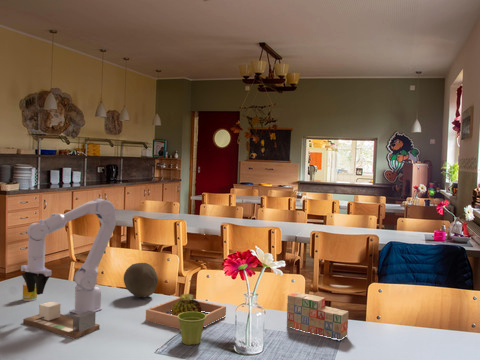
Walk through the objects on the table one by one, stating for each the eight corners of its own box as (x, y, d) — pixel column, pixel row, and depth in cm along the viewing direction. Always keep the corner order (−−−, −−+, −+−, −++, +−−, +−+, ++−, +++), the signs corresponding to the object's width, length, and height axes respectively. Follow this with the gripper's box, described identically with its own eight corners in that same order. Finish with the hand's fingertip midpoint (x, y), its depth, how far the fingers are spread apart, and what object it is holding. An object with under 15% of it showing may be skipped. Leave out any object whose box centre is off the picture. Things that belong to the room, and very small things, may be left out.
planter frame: (179, 306, 192) (180, 296, 192) (225, 316, 181) (226, 306, 181) (145, 320, 174) (145, 309, 174) (194, 332, 163) (194, 321, 163)
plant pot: (193, 349, 148) (194, 322, 148) (170, 342, 153) (171, 316, 153) (211, 340, 156) (211, 315, 156) (188, 334, 161) (189, 309, 161)
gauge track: (49, 315, 176) (49, 297, 176) (99, 329, 163) (99, 310, 163) (23, 323, 167) (23, 304, 166) (74, 338, 154) (74, 318, 154)
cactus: (155, 324, 171) (156, 297, 171) (172, 311, 187) (173, 287, 186) (200, 329, 167) (201, 302, 167) (214, 316, 183) (214, 291, 182)
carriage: (50, 314, 171) (51, 301, 171) (60, 316, 169) (60, 303, 169) (31, 320, 164) (31, 306, 164) (41, 323, 162) (41, 309, 162)
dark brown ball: (146, 291, 213) (146, 258, 213) (163, 298, 203) (164, 264, 202) (117, 296, 204) (118, 262, 203) (134, 304, 193) (135, 268, 193)
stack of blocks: (347, 337, 164) (349, 302, 164) (340, 342, 159) (341, 306, 159) (294, 323, 177) (295, 291, 176) (286, 327, 172) (287, 294, 171)
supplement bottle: (31, 301, 192) (31, 278, 191) (19, 300, 193) (20, 277, 193) (39, 298, 197) (40, 275, 197) (28, 297, 198) (28, 274, 198)
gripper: (13, 255, 171) (13, 292, 172) (39, 260, 164) (39, 298, 165) (30, 252, 177) (30, 288, 178) (56, 257, 170) (55, 294, 171)
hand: (35, 292), depth 172 cm, fingers open, 4 cm apart
